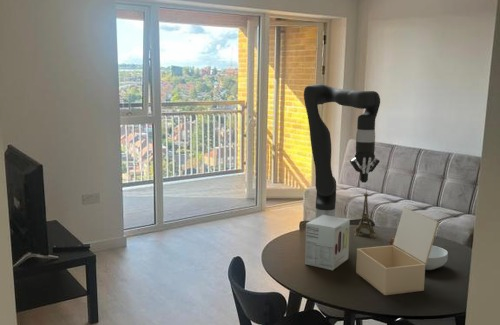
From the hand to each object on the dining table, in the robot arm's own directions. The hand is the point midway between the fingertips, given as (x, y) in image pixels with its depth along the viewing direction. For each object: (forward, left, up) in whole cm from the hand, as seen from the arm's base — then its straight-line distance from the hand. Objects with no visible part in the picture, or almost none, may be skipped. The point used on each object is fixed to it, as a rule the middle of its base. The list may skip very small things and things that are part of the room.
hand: (363, 182), depth 197 cm
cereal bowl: (+26, +3, -35) cm, 44 cm away
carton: (+21, +23, -36) cm, 47 cm away
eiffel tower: (0, +43, -35) cm, 56 cm away
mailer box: (+11, -17, -35) cm, 40 cm away
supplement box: (-14, -2, -35) cm, 38 cm away
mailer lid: (+20, -12, -17) cm, 29 cm away
